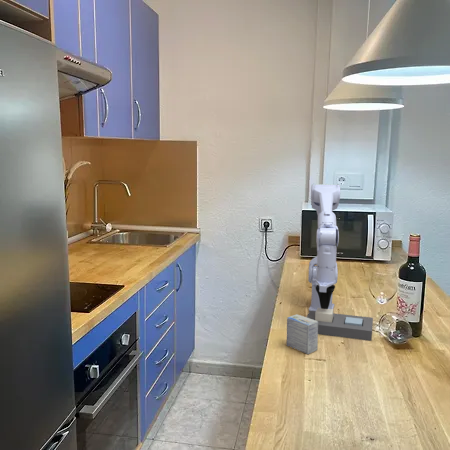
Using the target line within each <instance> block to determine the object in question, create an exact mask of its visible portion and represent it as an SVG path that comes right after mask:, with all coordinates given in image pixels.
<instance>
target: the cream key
mask: <svg viewBox="0 0 450 450" xmlns="http://www.w3.org/2000/svg"><path fill="white" fill-rule="evenodd" d="M333 313H334V308H333V309H321V308H317V310H316V312H315V320H316V321H322V322H331V323H332V320H333Z"/></svg>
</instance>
